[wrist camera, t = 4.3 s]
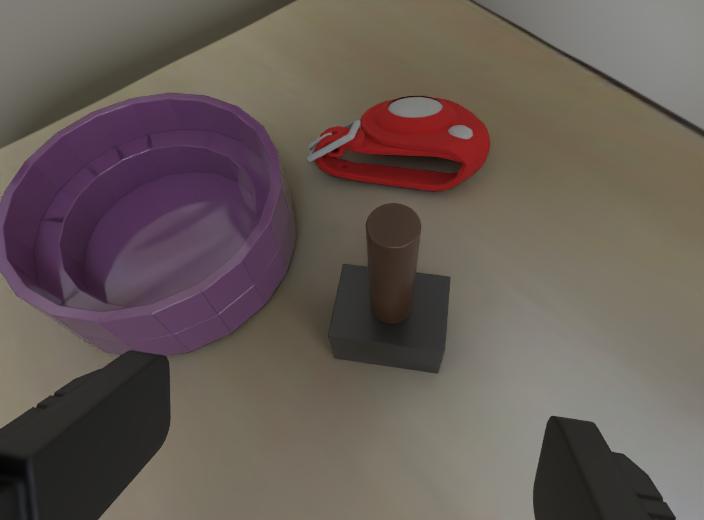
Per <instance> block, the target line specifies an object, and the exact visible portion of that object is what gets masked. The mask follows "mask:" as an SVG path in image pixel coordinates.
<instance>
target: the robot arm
mask: <svg viewBox="0 0 704 520" xmlns="http://www.w3.org/2000/svg"><path fill="white" fill-rule="evenodd" d="M169 426H170V371H169V361H168V359H167V357H166V356H164V355H160V354H154V353H147V352H141V351H134V350H130V351H127V352H125V353H124V354H122V355H121V356H120V357H118V358H117V359H115V360H114V361H112V362H111V363H110V364H108V365H107V366H105V367H104V368H102V369H99V370H96V371H94V372H91V373H89V374H86V375H84V376H81V377H79V378H76V379H74V380H73V381H71V382H70V383H68V384H67V385H65V386H64V387H62V388H61V389H59V390H58V391H56V392H55V394H54V396H51V395H50V396H49V397H47V398H46V399H44V400H43V401H41V402H40V403H38V404H37V407H36V408H34V407H32V408H31V409H30V410H28V411H27V412H25V413H24V414H22V415H21V416H19V417H18V418H16V419H15V420H13V421H12V422H10V423H9V424H7V425H6V426H4V427H3V428H1V429H0V520H98V519H99V518H100V517H101V515H102V514H103V513H104V512H105V511H106V510H107V509H108V507H109V506H110V505H111V504H112V503H113V502H114V501H115V499H116V498H117V497H118V496H119V495H120V494H121V493H122V491H123V490H124V489H125V488H126V487H127V486H128V485H129V483H130V482H131V481H132V480H133V479H134V478H135V477H136V475H137V474H138V473H139V472H140V471H141V470H142V469H143V467H144V466H145V465H146V464H147V463H148V462H149V461H150V459H151V458H152V457H153V456H154V455H155V454H156V453H157V451H158V450H159V449H160V448H161V446H162V445H163V443H164V441H165V439H166V437H167V434H168V431H169ZM533 507H534V515H535V520H676V517H675V516H674V514H673V513H672V511H671V510H670V508H669V506H668V505H667V503H666V502H663V497H662V496H661V494H660V493H659V491H658V490H657V488H656V487H655V485H654V483H653V482H652V480H651V479H650V477H649V476H648V475H647V474H646V473H645V472H644V471H643V470H642V469H641V468H639V467H638V466H637V465H636V464H635V463H634V462H632V461H631V460H630V459H629V458H628V457H627V456H625V455H624V454H621V453H615V452H611V450H610V448H609V446H608V445H607V443H606V441H605V440H604V438H603V436H602V434H601V433H600V431H599V429H598V428H597V426H596V425H595V423H593V422H590V421H583V420H577V419H570V418H564V417H557V416H551V417H550V418H549V420H548V422H547V425H546V430H545V434H544V439H543V444H542V449H541V453H540V458H539V463H538V467H537V472H536V477H535V482H534V489H533Z"/></svg>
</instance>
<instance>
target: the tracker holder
mask: <svg viewBox="0 0 704 520" xmlns="http://www.w3.org/2000/svg"><path fill="white" fill-rule="evenodd" d="M360 124H361V129H359V126H360ZM308 148H309V149H312V148H313V149H312V150H311V152H310V154H309V155H308V157H307V158H306V159H307V161H308V162H312V161H314V160H315V162H316V164H317V165H318V166H319V168H320V169H321V170H323V171H324V172H326V173H328V174H330V175H333V176H337V177H341V178H346V179H350V180H356V181H362V182H368V183H376V184H383V185H390V186H398V187H405V188H412V189H420V190H427V191H443V190H447V189H450V188H452V187H454V186H456V185H457V184H459V183H461V182H462V181H464V180H466V179H467V178H469V177H470V176H472V175H473V174H475V173H476V172H477V171H478V170H479V169H480V168H481V167H482V165H483V164H484V162H485V161H486V158H487V155H488V152H489V148H490V139H489V134H488V131H487V129H486V127H485V125H484V124H483V123H482V122H481V121H480V120H479V119H478V118H477V117H476V116H475V115H473V114H472V113H471V112H470V111H468V110H467V109H465V108H464V107H462V106H461V105H459V104H457V103H454V102H452V101H449V100H445V99H440V98H432V97H426V96H408V97H401V98H398V99H394V100H390V101H386V102H383V103H380V104H378V105H375V106H373V107H372V108H370V109H369V110H367V111H366V112H365V113H364V114H363V116H362V118H361V123H360V121H359V120H355V121H354V122H352V123H350V124H348V125H346V126H345V127H340V126H337V127H332V128H329V129H327V130H326V131H324V132H323V133H322V134H321V135H320V137H319V138H317V139H316V140H314V141H313V142H312V143H311V144H310V145H309V146H308ZM344 149H347V150H350V151H353V152H357V153H364V154H376V155H404V156H431V157H439V158H444V159H449V160H453V161H456V162H458V163H461V164H462V167H461V169H460V171H459V172H458V173H444V172H435V171H427V170H418V169H409V168H400V167H391V166H382V165H374V164H366V163H355V162H351V161H347V160H343V159H338V158H336V157H340V156H342V155H343V154H344V151H345V150H344Z"/></svg>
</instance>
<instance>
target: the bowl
mask: <svg viewBox="0 0 704 520" xmlns="http://www.w3.org/2000/svg"><path fill="white" fill-rule="evenodd" d="M295 242H296V228H295V218H294V208H293V204H292V201H291V197H290V193H289V189H288V186H287V182H286V178H285V175H284V171H283V167H282V164H281V160H280V156H279V153H278V151H277V149H276V147H275V145H274V144H273V142H272V140H271V138H270V137H269V135H268V133H267V131H266V130H265V128H264V126H263V125H261V124H260V123H259V122H257V121H256V120H255V119H254V118H252V117H251V116H250V115H248V114H247V113H246V112H245V111H243V110H242V109H241V108H239V107H238V106H235V105H232V104H229V103H227V102H224V101H221V100H218V99H215V98H212V97H209V96H206V95H193V94H180V93H165V94H158V95H151V96H144V97H137V98H132V99H128V100H125V101H122V102H119V103H116V104H113V105H111V106H108V107H105V108H102V109H99V110H96V111H94V112H91V113H90V114H88V115H86V116H84V117H83V118H81V119H79V120H78V121H76V122H74V123H73V124H71V125H69V126H67V127H66V128H64V129H62V130H61V131H59V132H57V133H56V134H55V135H54V136H52V137H51V138H50V139H49V140H48V141H47V142H46V143H45V144H44V145H42V146H41V147H40V148H39V149H38V150H37V151H36V152H35V153H34V154H32V155H31V156H30V157H29V158H28V159H27V160H26V161H25V162H24V164H23V165H22V167H21V168H20V170H19V171H18V172H17V174H16V175H15V177H14V178H13V180H12V181H11V183H10V184H9V186H8V187H7V189H6V190H5V192H4V194H3V196H2V199H1V202H0V272H1V273H2V275H3V276H4V278H5V279H6V281H7V282H8V284H9V285H10V287H11V289H12V290H13V292H14V293H15V295H17V296H18V297H19V298H21V299H22V300H24V301H25V302H27V303H28V304H30V305H31V306H33V307H34V308H36V309H37V310H39V311H40V312H42V313H43V314H45V315H46V316H48V317H49V318H51V319H52V320H54V321H55V322H57V323H58V324H60V325H61V326H63V327H64V328H66V329H67V330H69V331H70V332H72V333H73V334H75V335H76V336H78V337H80V338H81V339H83V340H85V341H87V342H88V343H90V344H92V345H93V346H95V347H97V348H99V349H100V350H102V351H104V352H107V353H112V354H118V355H122V354H124V353H125V352H127V351H130V350H134V351H141V352H147V353H154V354H160V355H164V356H169V355H175V354H182V353H188V352H192V351H194V350H196V349H198V348H200V347H202V346H205V345H207V344H209V343H211V342H213V341H215V340H218V339H220V338H222V337H224V336H226V335H228V334H231V332H233V331H234V330H236V329H237V328H238V327H239V326H240V325H242V324H243V323H244V322H245V321H246V320H248V319H249V318H250V317H251V316H252V315H253V314H255V313H256V312H257V311H258V310H259V309H261V308H262V307H263V306H264V305H265V304H266V303H267V301H268V300H269V298H270V297H271V295H272V294H273V292H274V291H275V289H276V288H277V286H278V285H279V283H280V282H281V280H282V279H283V277H284V276H285V274H286V273H287V271H288V267H289V264H290V260H291V256H292V253H293V249H294V245H295Z"/></svg>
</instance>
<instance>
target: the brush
mask: <svg viewBox="0 0 704 520" xmlns="http://www.w3.org/2000/svg"><path fill="white" fill-rule="evenodd" d="M420 234H421V222H420V219H419V217H418V215H417V214H416V213H415V212H414V211H413V210H412V209H411V208H409V207H407V206H405V205H402V204H397V203H390V204H385V205H382V206H379V207H378V208H376V209H375V210H374V211H372V213H371V214H370V215H369V217H368V219H367V221H366V239H367V256H368V267H365V266H357V265H349V264H343V267H342V272H341V277H340V281H339V286H338V291H337V296H336V301H335V305H334V310H333V315H332V320H331V324H330V329H329V334H328V337H329V340H330V344H331V348H332V351H333V355H334V358H337V359H344V360H350V361H357V362H364V363H370V364H377V365H384V366H391V367H397V368H404V369H411V370H418V371H424V372H431V373H438V371H439V368H440V365H441V362H442V359H443V356H444V353H445V342H446V329H447V316H448V303H449V290H450V277H448V276H440V275H431V274H423V273H416V267H417V259H418V250H419V242H420Z"/></svg>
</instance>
